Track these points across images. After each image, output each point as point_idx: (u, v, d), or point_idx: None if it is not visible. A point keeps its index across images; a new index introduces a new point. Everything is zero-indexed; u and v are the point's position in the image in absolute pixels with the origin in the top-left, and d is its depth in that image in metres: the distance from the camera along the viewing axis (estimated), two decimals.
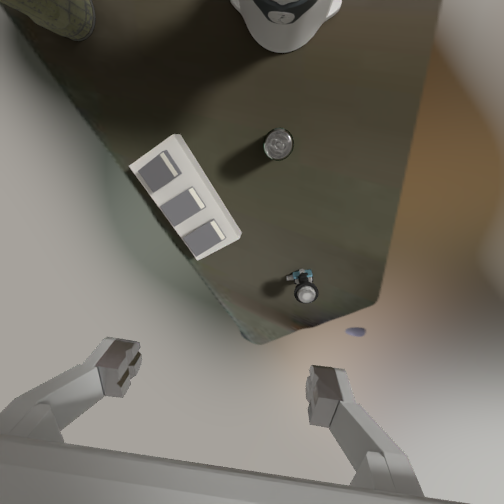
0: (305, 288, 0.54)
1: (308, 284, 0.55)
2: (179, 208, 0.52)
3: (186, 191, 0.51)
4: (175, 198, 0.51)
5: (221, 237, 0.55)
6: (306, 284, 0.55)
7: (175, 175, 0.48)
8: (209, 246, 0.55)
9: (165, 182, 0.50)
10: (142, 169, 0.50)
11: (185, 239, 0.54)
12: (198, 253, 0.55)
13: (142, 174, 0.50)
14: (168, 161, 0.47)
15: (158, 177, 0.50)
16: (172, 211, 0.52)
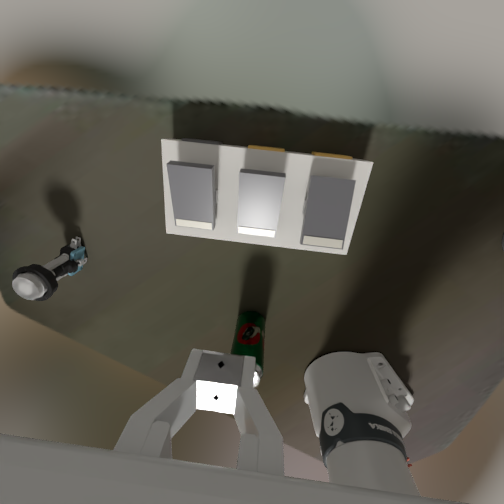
0: (41, 291, 0.34)
1: (48, 295, 0.35)
2: (260, 201, 0.29)
3: (275, 227, 0.31)
4: (277, 207, 0.29)
5: (180, 221, 0.31)
6: (49, 293, 0.34)
7: (304, 238, 0.30)
8: (174, 196, 0.29)
9: (308, 212, 0.29)
10: (350, 191, 0.28)
11: (207, 172, 0.27)
12: (170, 172, 0.28)
13: (345, 184, 0.28)
14: (326, 245, 0.30)
15: (321, 207, 0.29)
16: (263, 190, 0.28)
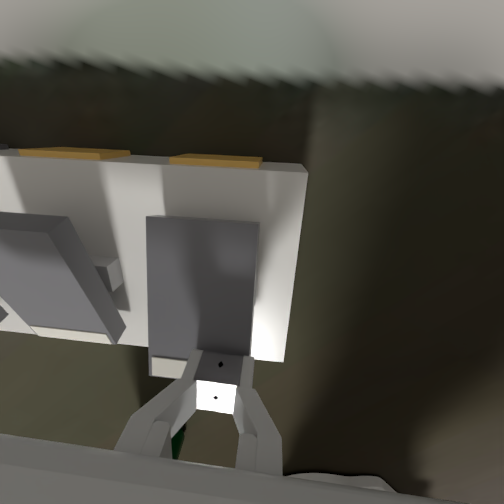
0: None
1: None
2: (33, 283, 0.12)
3: (101, 328, 0.14)
4: (80, 295, 0.12)
5: None
6: None
7: (155, 361, 0.12)
8: None
9: (153, 305, 0.12)
10: (249, 253, 0.11)
11: None
12: None
13: (233, 237, 0.11)
14: None
15: (183, 293, 0.11)
16: (21, 262, 0.11)
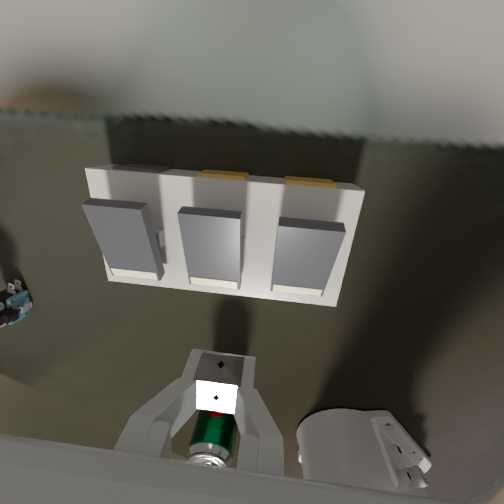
0: None
1: None
2: (211, 248, 0.21)
3: (236, 277, 0.23)
4: (236, 255, 0.22)
5: (116, 270, 0.24)
6: None
7: (274, 285, 0.24)
8: (102, 242, 0.22)
9: (277, 264, 0.22)
10: (337, 244, 0.19)
11: (135, 213, 0.20)
12: (89, 214, 0.21)
13: (329, 237, 0.19)
14: (301, 292, 0.24)
15: (295, 260, 0.21)
16: (214, 234, 0.20)
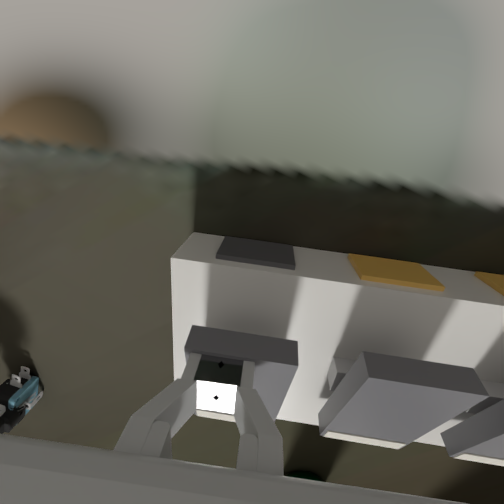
0: None
1: None
2: (396, 414, 0.12)
3: (408, 440, 0.14)
4: (433, 425, 0.13)
5: (205, 412, 0.15)
6: None
7: (462, 453, 0.15)
8: None
9: (498, 439, 0.13)
10: None
11: (285, 368, 0.11)
12: None
13: None
14: (501, 463, 0.15)
15: None
16: (416, 404, 0.12)
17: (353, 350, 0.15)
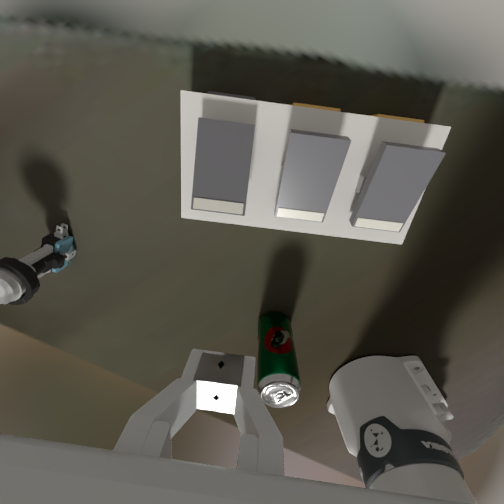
0: (17, 293, 0.26)
1: (27, 297, 0.27)
2: (312, 173, 0.22)
3: (324, 208, 0.24)
4: (333, 183, 0.23)
5: (199, 201, 0.23)
6: (28, 294, 0.26)
7: (358, 219, 0.25)
8: (199, 163, 0.22)
9: (369, 192, 0.23)
10: (433, 167, 0.21)
11: (248, 128, 0.22)
12: (201, 129, 0.22)
13: (429, 158, 0.21)
14: (381, 228, 0.25)
15: (388, 187, 0.23)
16: (319, 158, 0.21)
17: None
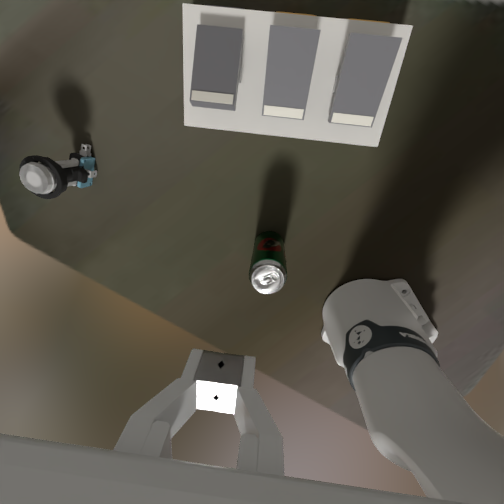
0: (50, 184, 0.31)
1: (58, 191, 0.32)
2: (290, 66, 0.26)
3: (304, 104, 0.28)
4: (309, 75, 0.27)
5: (196, 93, 0.27)
6: (59, 188, 0.32)
7: (333, 115, 0.29)
8: (197, 61, 0.27)
9: (341, 84, 0.27)
10: (393, 54, 0.25)
11: (237, 32, 0.27)
12: (199, 33, 0.27)
13: (389, 45, 0.25)
14: (355, 123, 0.29)
15: (357, 77, 0.26)
16: (295, 50, 0.26)
17: None
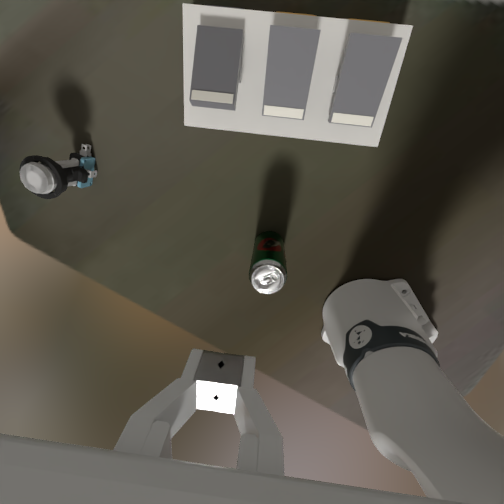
0: (51, 184, 0.31)
1: (58, 191, 0.32)
2: (290, 66, 0.26)
3: (304, 104, 0.28)
4: (309, 75, 0.27)
5: (196, 92, 0.27)
6: (59, 188, 0.32)
7: (333, 115, 0.29)
8: (197, 61, 0.27)
9: (341, 84, 0.27)
10: (393, 54, 0.25)
11: (238, 32, 0.27)
12: (199, 34, 0.27)
13: (389, 45, 0.25)
14: (355, 123, 0.29)
15: (357, 77, 0.26)
16: (295, 50, 0.26)
17: None
